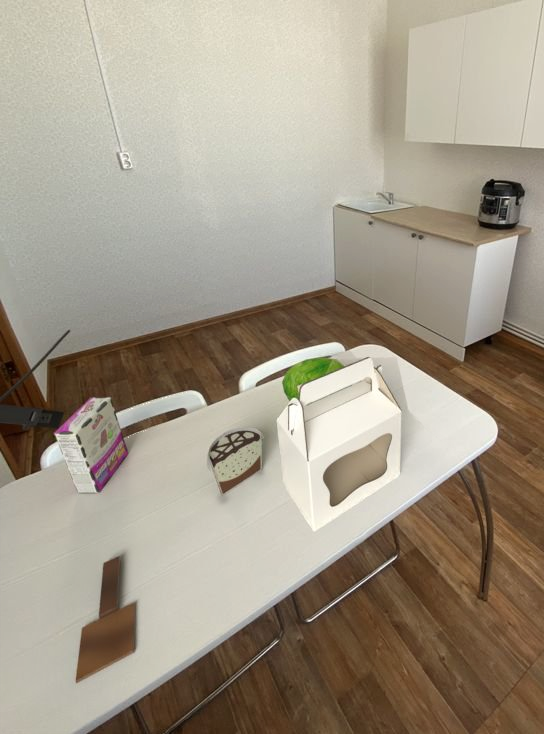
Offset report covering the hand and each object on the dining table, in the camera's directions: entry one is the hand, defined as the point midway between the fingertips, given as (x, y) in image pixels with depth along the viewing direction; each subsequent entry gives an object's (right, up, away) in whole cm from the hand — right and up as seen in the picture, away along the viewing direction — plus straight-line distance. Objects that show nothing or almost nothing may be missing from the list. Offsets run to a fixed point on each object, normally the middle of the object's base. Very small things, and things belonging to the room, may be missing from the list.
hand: (24, 417), depth 67 cm
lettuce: (+48, -11, +39) cm, 62 cm away
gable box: (+55, -19, +16) cm, 61 cm away
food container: (+31, -19, +18) cm, 41 cm away
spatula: (+19, -28, -6) cm, 34 cm away
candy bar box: (+1, -19, +19) cm, 27 cm away
